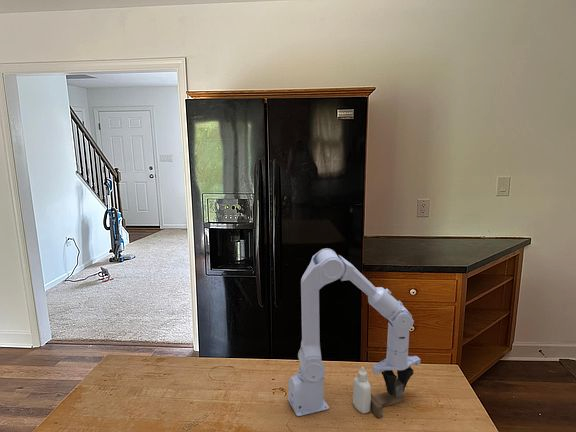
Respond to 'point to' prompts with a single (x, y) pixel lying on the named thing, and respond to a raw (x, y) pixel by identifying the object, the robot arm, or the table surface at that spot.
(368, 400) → the eye dropper bottle
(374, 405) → the grey hook bracket
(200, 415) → the table surface
